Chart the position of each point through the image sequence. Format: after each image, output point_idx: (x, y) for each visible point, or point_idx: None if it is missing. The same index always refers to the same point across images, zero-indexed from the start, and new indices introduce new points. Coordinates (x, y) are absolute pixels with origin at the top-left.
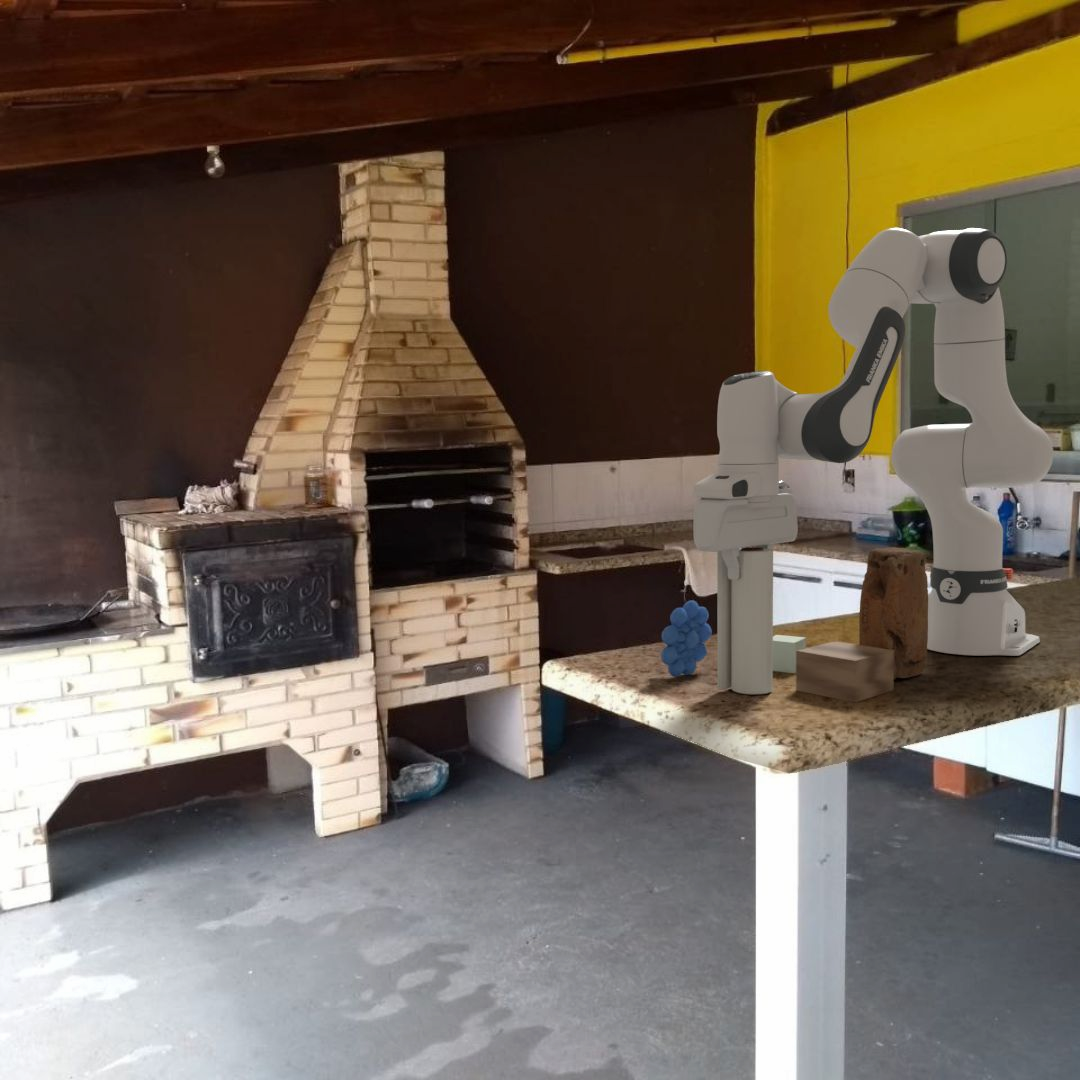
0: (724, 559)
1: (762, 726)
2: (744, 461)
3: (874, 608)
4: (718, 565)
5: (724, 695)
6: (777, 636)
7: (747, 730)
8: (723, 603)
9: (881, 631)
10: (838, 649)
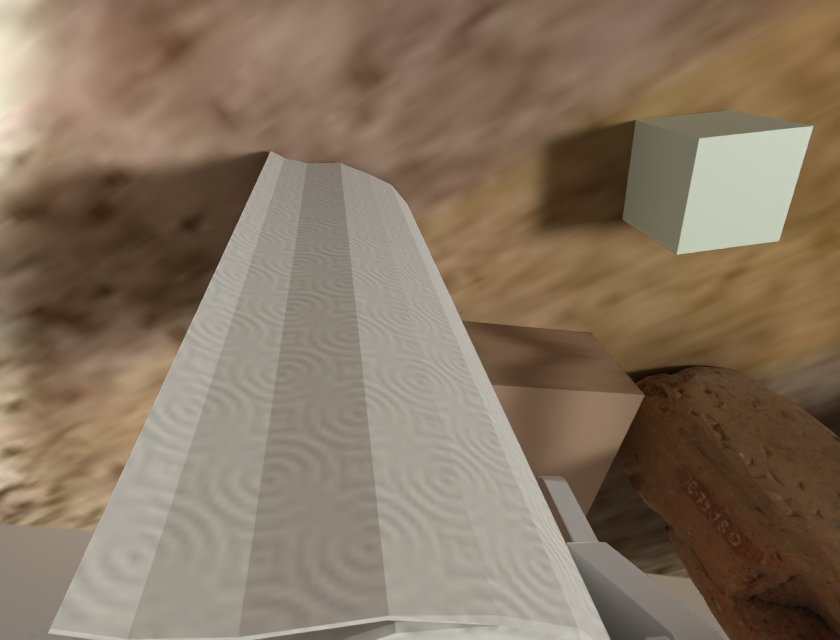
0: (46, 634)
1: (67, 417)
2: None
3: (717, 555)
4: (139, 460)
5: (251, 190)
6: (778, 145)
7: (6, 412)
8: (262, 286)
9: (666, 513)
10: (529, 450)
